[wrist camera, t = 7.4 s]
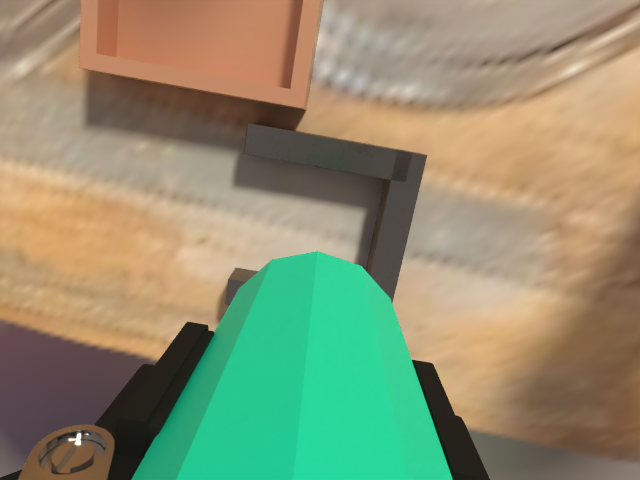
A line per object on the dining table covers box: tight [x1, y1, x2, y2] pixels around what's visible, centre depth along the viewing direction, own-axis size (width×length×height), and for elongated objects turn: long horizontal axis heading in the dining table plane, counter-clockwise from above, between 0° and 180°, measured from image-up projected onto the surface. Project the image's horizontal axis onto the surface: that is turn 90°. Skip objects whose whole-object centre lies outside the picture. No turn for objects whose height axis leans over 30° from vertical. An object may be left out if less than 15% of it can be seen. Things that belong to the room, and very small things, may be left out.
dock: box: [225, 123, 427, 305], centre depth 31 cm, size 12×13×2 cm
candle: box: [131, 251, 453, 480], centre depth 9 cm, size 6×6×12 cm
